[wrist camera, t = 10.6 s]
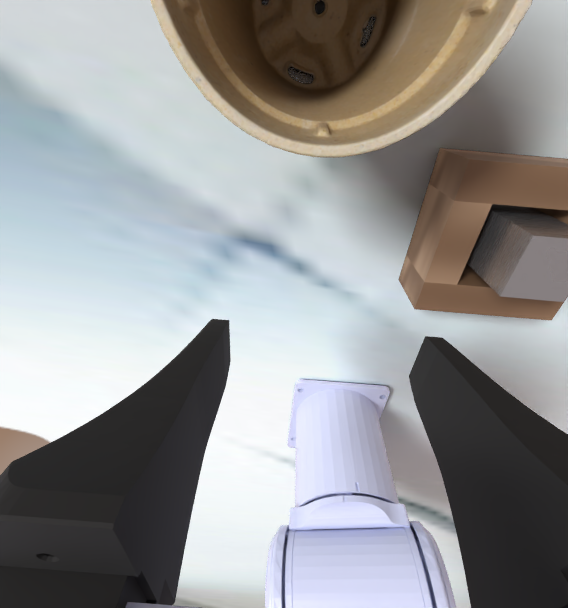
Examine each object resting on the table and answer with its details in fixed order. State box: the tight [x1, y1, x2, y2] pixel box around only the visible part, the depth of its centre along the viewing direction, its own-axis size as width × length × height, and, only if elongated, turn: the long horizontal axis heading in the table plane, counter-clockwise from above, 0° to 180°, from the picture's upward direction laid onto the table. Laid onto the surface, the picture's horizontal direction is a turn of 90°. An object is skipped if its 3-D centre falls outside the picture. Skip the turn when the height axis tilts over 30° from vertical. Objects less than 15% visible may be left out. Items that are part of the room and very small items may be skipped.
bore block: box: [399, 148, 568, 320], centre depth 17 cm, size 8×8×4 cm
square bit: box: [467, 204, 568, 302], centre depth 16 cm, size 3×3×6 cm
